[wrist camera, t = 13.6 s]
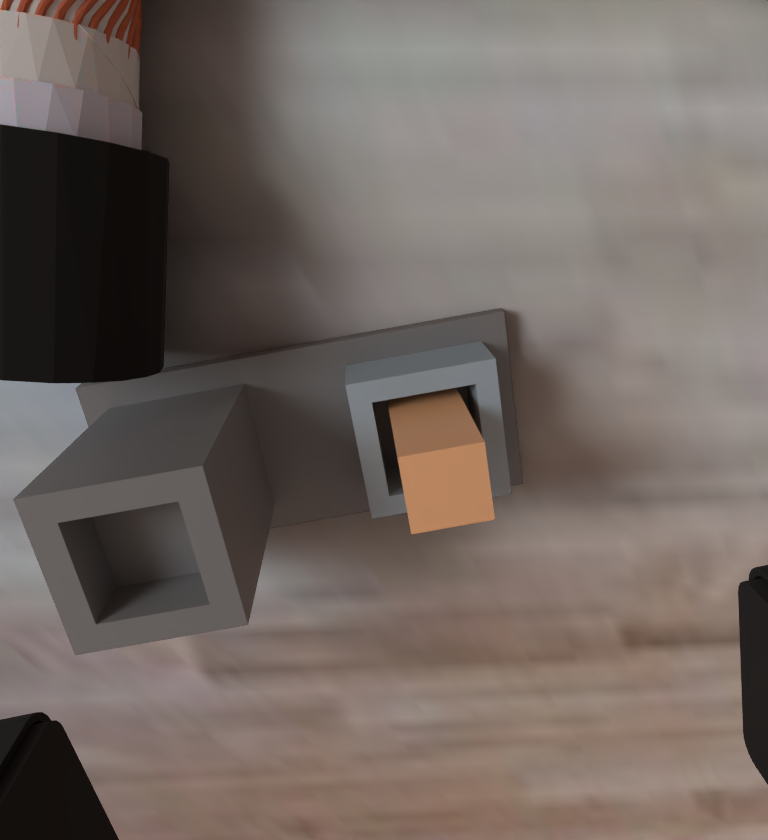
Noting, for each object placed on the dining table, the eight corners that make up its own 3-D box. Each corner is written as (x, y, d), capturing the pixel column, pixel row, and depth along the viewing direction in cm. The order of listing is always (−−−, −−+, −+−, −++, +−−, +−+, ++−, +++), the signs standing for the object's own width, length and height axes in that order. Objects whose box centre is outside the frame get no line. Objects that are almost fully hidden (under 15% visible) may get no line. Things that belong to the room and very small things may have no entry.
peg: (452, 380, 40) (484, 441, 31) (461, 442, 41) (495, 519, 32) (385, 392, 40) (397, 457, 31) (396, 453, 41) (411, 534, 32)
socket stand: (500, 308, 40) (568, 365, 27) (519, 476, 43) (586, 593, 31) (81, 383, 40) (-36, 473, 28) (136, 544, 44) (53, 686, 31)
